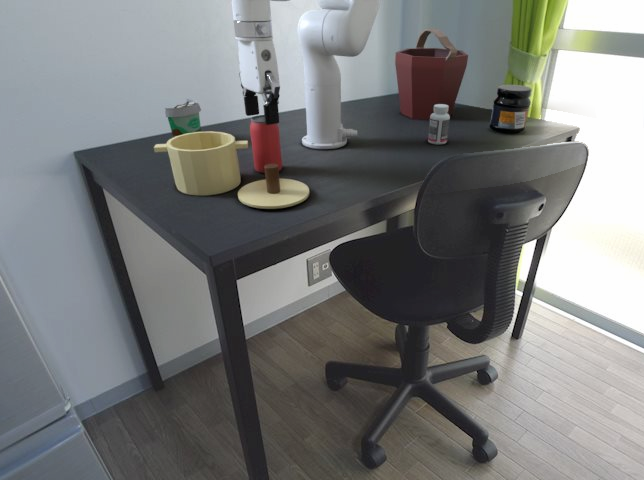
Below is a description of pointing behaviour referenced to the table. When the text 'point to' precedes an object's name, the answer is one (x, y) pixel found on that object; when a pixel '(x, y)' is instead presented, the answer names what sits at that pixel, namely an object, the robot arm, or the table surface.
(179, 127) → the food container
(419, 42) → the bucket
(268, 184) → the lid
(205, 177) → the pot
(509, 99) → the supplement container
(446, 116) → the pill bottle
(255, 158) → the beer can
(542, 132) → the table surface
